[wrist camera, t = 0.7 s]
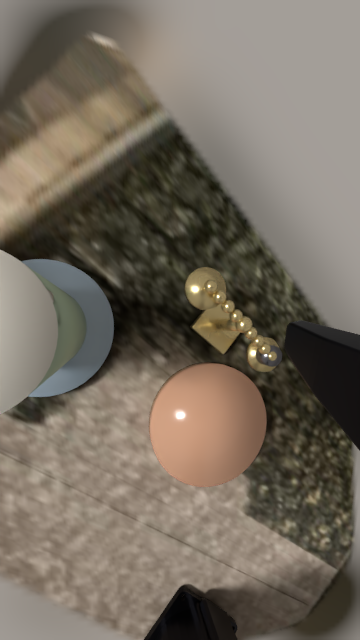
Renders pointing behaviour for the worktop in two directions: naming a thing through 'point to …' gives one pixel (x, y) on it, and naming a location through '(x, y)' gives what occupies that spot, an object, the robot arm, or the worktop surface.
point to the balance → (226, 320)
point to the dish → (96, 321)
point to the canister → (33, 330)
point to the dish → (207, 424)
